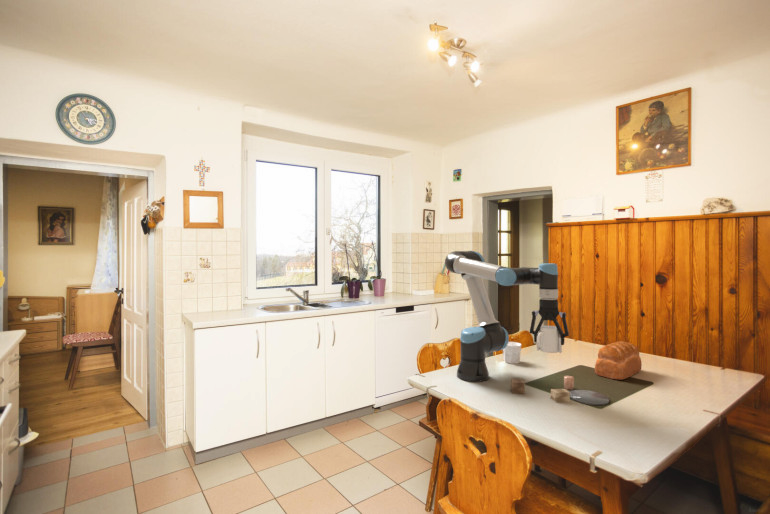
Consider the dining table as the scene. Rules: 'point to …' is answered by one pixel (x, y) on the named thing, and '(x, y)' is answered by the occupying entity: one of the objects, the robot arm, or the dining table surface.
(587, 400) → the gray plate
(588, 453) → the dining table surface
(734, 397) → the dining table surface
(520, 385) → the walnut block
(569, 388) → the peach egg shape
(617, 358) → the bread
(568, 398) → the beech block
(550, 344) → the mug
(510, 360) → the cup
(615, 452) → the dining table surface
